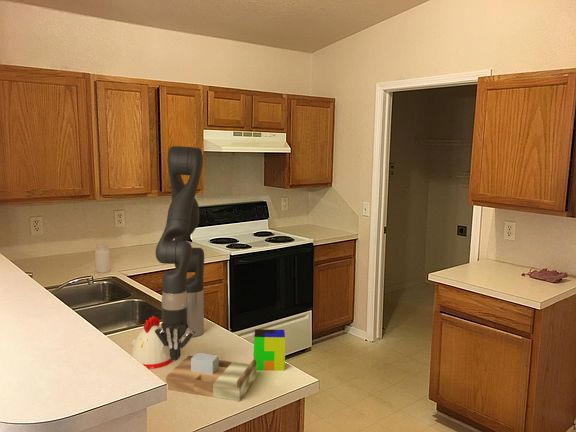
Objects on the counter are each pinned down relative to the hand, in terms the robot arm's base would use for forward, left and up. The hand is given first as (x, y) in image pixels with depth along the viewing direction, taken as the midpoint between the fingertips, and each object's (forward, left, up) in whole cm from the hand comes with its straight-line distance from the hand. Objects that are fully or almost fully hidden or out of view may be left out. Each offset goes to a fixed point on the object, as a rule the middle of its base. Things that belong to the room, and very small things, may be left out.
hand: (175, 359), depth 149 cm
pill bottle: (-100, -97, -6) cm, 140 cm away
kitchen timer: (-9, -13, -6) cm, 17 cm away
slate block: (0, +10, -2) cm, 10 cm away
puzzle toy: (-18, +25, -6) cm, 31 cm away
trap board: (0, +12, -6) cm, 14 cm away
